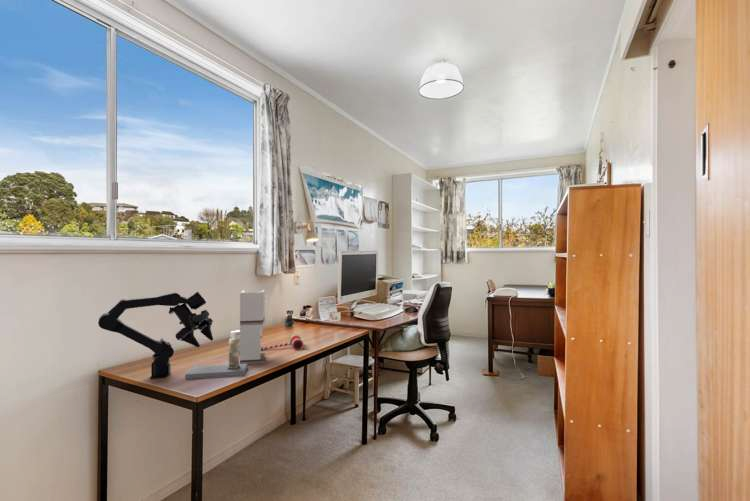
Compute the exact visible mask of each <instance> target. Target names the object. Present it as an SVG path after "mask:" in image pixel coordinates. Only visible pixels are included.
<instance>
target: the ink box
mask: <svg viewBox="0 0 750 501" xmlns="http://www.w3.org/2000/svg"><path fill="white" fill-rule="evenodd" d="M232 338H238V339H239V354H240V329H237V330H231V331H230V339H232Z"/></svg>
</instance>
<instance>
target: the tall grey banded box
mask: <svg viewBox="0 0 750 501" xmlns="http://www.w3.org/2000/svg"><path fill="white" fill-rule="evenodd" d="M265 292H266V291H265V289H262V290H260V291H246V289H244V290H242V291H240V293H239V330H240V353H239V364H247V365H256V364H263V363H264V360H265V356H266V355H265V352H262V351H261V344H262V343H261V339H262V338H263V327H264V326H265V324H266V322H265V321H266V320H265V313H266V311H265V308H266V307H265V304H266V303H265V300H266V297H265V295H266V294H265Z"/></svg>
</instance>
